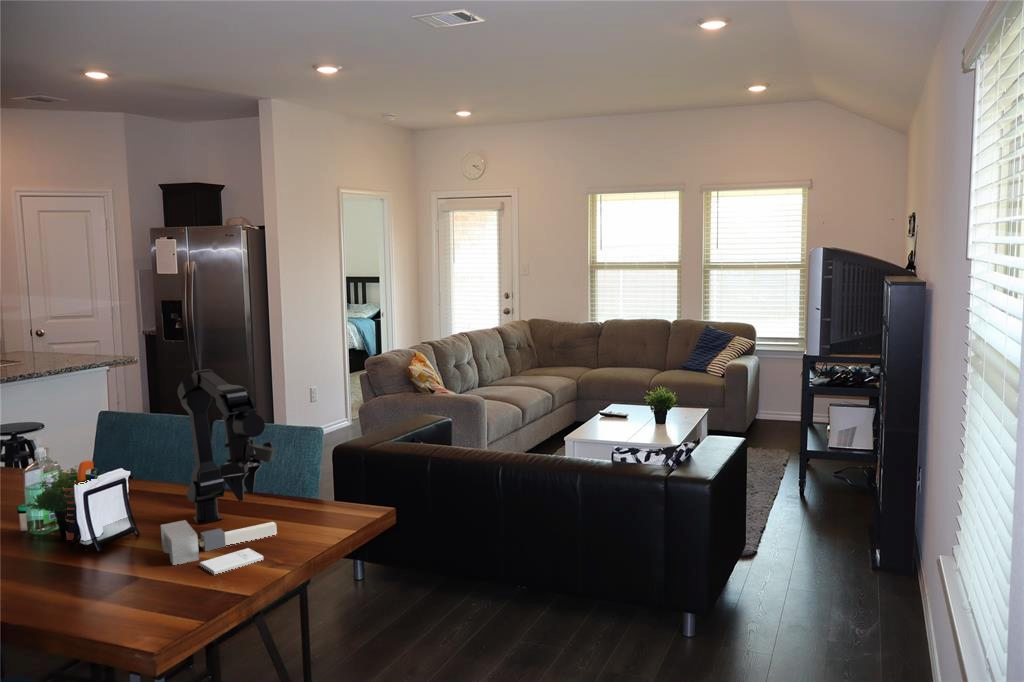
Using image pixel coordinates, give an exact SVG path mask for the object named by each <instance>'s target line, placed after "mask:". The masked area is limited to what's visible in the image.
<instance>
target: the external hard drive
mask: <svg viewBox="0 0 1024 682" xmlns="http://www.w3.org/2000/svg"><path fill="white" fill-rule="evenodd" d="M261 560H262V561H264V556H263V555H262V554H261V553H259V552H256V551H255V550H254V549H251V548H249V547H247V548H244V549H240V550H237V551H234V552H230V553H226V554H222V555H221V556H217V557H214V558H210V559H207V560H203V561H200V562H199V567H200V566H201V567H200V568H202V567H203V568H204V569H203V568H202V569H203V570H205V569H206V570H205V571H207V570H208V571H209V572H208V571H207V572H208V573H210V572H211V573H212V575H213V574H214V575H213V576H216V575H215V574H218V573H221V574H223V573H222V572H224V573H226V572H225V571H227V572H229V571H228V570H230V571H232V570H231V569H233V570H236V569H239V568H238V567H240V568H242V566H243V567H246V566H248V564H249V565H252V564H254V562H255V563H258V562H257V561H259V562H261ZM251 563H252V564H251ZM245 565H246V566H245ZM235 568H236V569H235ZM211 573H210V574H211ZM218 575H219V574H218Z"/></svg>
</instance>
